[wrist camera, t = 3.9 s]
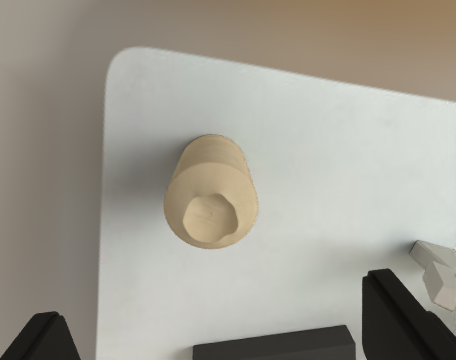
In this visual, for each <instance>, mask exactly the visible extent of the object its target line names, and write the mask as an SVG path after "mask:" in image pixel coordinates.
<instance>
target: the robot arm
mask: <svg viewBox="0 0 456 360" xmlns="http://www.w3.org/2000/svg"><path fill="white" fill-rule="evenodd" d="M362 346H363V350H364V354H365V356H366V358H367V360H456V337H455V336H454V334H453V333H452V332H451V331H450V330H449V329H448V328H447V327H446V325H445V324H444V323H443V322H442V321H441V320H440V319H439V318H438V317H437V316H436V315H435V314H434V313H432V312H430V311H426V310H425V309H424V308H423V307H422V306H421V305H420V303H419V302H418V301H417V300H416V299H415V298H414V296H413V295H412V294H411V293H410V292H409V291H408V289H407V288H406V287H405V286H404V285H403V284H402V282H401V281H400V280H399V279H398V278H397V277H396V275H395V274H394V273H393V272H392V271H391V270H390V269H388V268H387V269H379V270H372V271H369V272H368V275H367V276H364V277H363V280H362ZM0 360H81V359H80V357H79V354H78V352H77V349H76V346H75V344H74V342H73V339H72V336H71V334H70V331H69V329H68V326H67V323H66V321H65V319H64V317H63V316H60V315H59V313H57V312H54V311H53V312H45V313H38V314H35V315H34V316H33V317H32V318H31V319H30V320H29V322H28V323H27V324H26V326H25V327H24V328H23V329H22V331H21V332H20V333H19V335H18V336H17V337H16V338H15V340H14V341H13V342H12V344H11V345H10V346H9V347H8V349H7V350H6V351H5V353H4V354H3V355H2V357H1V358H0Z"/></svg>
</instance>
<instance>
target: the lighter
mask: <svg viewBox="0 0 456 360" xmlns="http://www.w3.org/2000/svg"><path fill="white" fill-rule="evenodd" d="M410 256H411V257H412V258H413V259H414V260H415V261H416V262H417V263H418V264H419V265H420V266H421V267H422V268H424V269H425V270H426V271H425V273H424V274H423V281H424V283H425V286H426V289H427V291H428V294H429V297H430V299H431V302H432V303H434V304H437V305H439V306H441V307H443V308H445V309H447V310H450V311H454V309H455V308H456V251H455V250H453V249H449V248H445V247H441V246H438V245H434V244H430V243H426V242H423V241H417V242H416V243H415V245H414V247H413V249H412V250H411V252H410Z"/></svg>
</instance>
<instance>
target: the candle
mask: <svg viewBox="0 0 456 360" xmlns="http://www.w3.org/2000/svg"><path fill="white" fill-rule="evenodd" d="M164 213H165V217H166V220H167V223H168V224H169V226H170V228H171V229H172V231H173V232H174V233H175V234H176V235H177V236H178V237H179V238H180V239H182V240H183V241H185V242H186V243H188V244H190V245H192V246H195V247H198V248H203V249H219V248H224V247H227V246H230V245H232V244H234V243H236V242H238V241H239V240H241V239H242V238H243V237H244V236H246V235H247V233H248V232H249V231H250V230H251V228H252V227H253V225H254V223H255V221H256V218H257V214H258V198H257V194H256V190H255V187H254V184H253V181H252V178H251V175H250V172H249V169H248V166H247V163H246V160H245V157H244V155H243V153H242V151H241V149H240V148H239V147H238V145H236V144H235V143H234V142H233V141H232V140H230V139H228V138H226V137H224V136H220V135H205V136H202V137H199V138H197V139H195V140H194V141H192V142H191V143H190V144H189V145H188V146H187V147H186V148H185V150H184V152H183V154H182V155H181V158H180V160H179V162H178V165H177V167H176V170H175V172H174V174H173V177H172V179H171V181H170V184H169V186H168V189H167V191H166V194H165V198H164Z"/></svg>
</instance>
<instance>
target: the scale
mask: <svg viewBox="0 0 456 360" xmlns="http://www.w3.org/2000/svg"><path fill="white" fill-rule="evenodd" d="M192 360H356V348H355V342H354V340H353V338H352V336H351V334H350V332H349V330H348V328H347V326H346V325H344V326H336V327H329V328H322V329H314V330H307V331H299V332H292V333H285V334H277V335H270V336H263V337H255V338H248V339H240V340H233V341H226V342H218V343H211V344H204V345H196V346H194V347H193V359H192Z"/></svg>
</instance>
